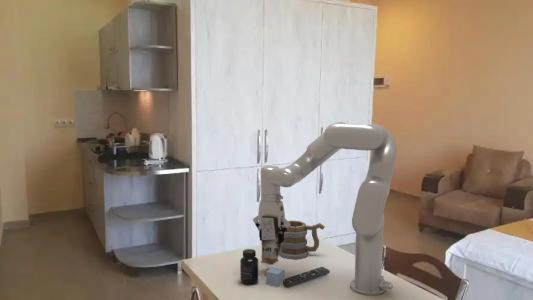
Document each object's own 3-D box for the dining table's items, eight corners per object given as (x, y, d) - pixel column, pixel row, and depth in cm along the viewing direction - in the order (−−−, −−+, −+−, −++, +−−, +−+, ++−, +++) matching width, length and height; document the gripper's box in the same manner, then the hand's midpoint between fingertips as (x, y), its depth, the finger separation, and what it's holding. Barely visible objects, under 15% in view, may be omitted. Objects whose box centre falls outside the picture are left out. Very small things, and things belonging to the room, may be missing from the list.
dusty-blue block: (284, 282, 165) (284, 269, 164) (277, 287, 161) (277, 274, 160) (272, 279, 168) (272, 267, 167) (266, 284, 163) (266, 271, 163)
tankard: (275, 257, 191) (276, 224, 189) (283, 248, 203) (283, 216, 201) (321, 262, 185) (321, 228, 183) (326, 252, 197) (326, 220, 195)
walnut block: (277, 260, 187) (277, 249, 186) (271, 264, 183) (271, 253, 182) (267, 258, 190) (267, 247, 189) (261, 262, 185) (261, 250, 185)
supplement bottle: (262, 281, 166) (262, 250, 164) (249, 287, 161) (249, 255, 159) (249, 276, 170) (249, 246, 169) (236, 281, 165) (236, 251, 164)
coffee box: (277, 258, 168) (277, 218, 167) (261, 258, 170) (260, 217, 168) (281, 251, 177) (281, 212, 176) (266, 250, 179) (265, 211, 177)
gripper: (295, 197, 170) (295, 241, 172) (257, 193, 179) (258, 235, 181) (285, 201, 163) (286, 247, 165) (246, 197, 172) (248, 240, 174)
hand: (271, 241), depth 173 cm, fingers closed on coffee box, 7 cm apart
